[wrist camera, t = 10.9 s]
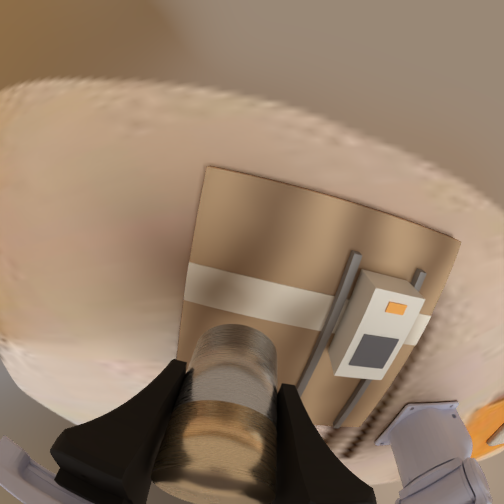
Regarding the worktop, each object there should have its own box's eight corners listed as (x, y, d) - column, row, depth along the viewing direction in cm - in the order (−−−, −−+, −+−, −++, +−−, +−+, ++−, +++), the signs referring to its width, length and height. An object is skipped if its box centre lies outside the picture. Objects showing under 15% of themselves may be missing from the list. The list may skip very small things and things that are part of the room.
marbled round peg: (287, 334, 14) (293, 482, 6) (265, 390, 15) (257, 513, 8) (201, 314, 14) (147, 454, 6) (192, 373, 15) (153, 492, 8)
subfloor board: (453, 237, 18) (466, 244, 17) (357, 418, 25) (360, 431, 23) (210, 166, 18) (204, 166, 16) (176, 389, 25) (171, 403, 23)
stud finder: (407, 280, 18) (426, 300, 15) (371, 356, 21) (381, 381, 18) (361, 269, 18) (376, 288, 15) (327, 350, 20) (334, 376, 18)
